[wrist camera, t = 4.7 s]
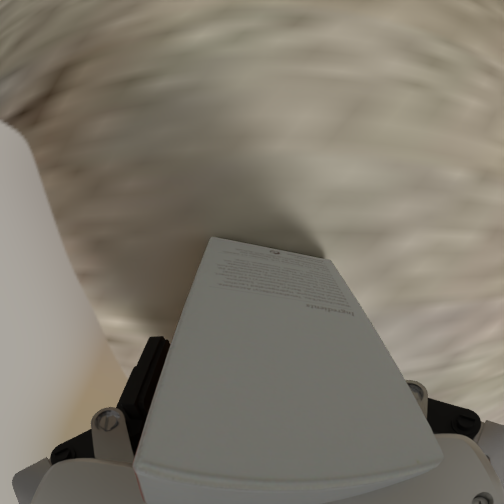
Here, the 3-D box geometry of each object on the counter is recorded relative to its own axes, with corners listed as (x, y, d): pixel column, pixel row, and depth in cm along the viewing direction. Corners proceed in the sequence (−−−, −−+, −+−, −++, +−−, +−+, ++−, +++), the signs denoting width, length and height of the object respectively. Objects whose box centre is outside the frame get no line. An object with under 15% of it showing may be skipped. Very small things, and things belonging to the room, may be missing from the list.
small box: (210, 232, 13) (121, 463, 3) (333, 257, 13) (458, 459, 3) (190, 368, 15) (153, 546, 5) (286, 383, 16) (309, 555, 6)
